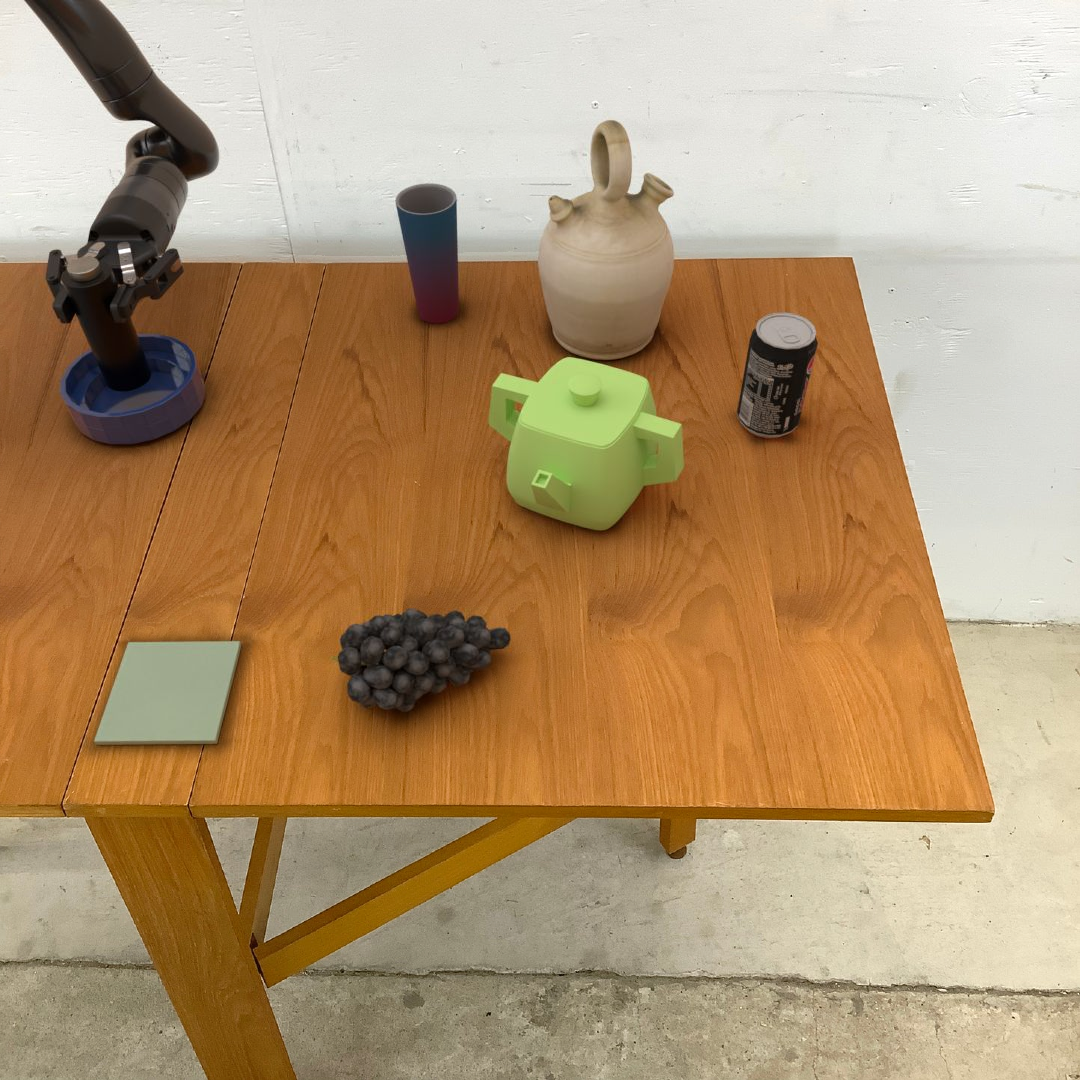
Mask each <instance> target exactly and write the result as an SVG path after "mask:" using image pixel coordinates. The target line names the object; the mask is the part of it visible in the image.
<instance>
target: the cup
mask: <svg viewBox="0 0 1080 1080" xmlns="http://www.w3.org/2000/svg"><path fill="white" fill-rule="evenodd" d="M457 201H458V200H457V194H456V192H455V191H454V190H453V188H451V187H449V186H447V185H444V184H439V183H433V182H432V183H431V182H427V183H418V184H414V185H410V186H409V187H406V188H404V189H402V190H401V191H400V192H399V193H398V194H397V195H396V197H395V206H396V212H397V217H398V222H399V226H400V232H401V236H402V241H403V245H404V251H405V256H406V261H407V265H408V270H409V275H410V280H411V285H412V290H413V295H414V300H415V304H416V310H417V314H418V317H419V318H420V319H421V320H422V321H424V322H426V323H429V324H435V325H436V324H445V323H448V322H451V321H453V320H454V319H455V318H456V317H458V315H459V314H460V313H459V312H460V296H459V295H460V293H459V247H458V245H459V244H458V242H459V241H458V204H457V203H458V202H457Z"/></svg>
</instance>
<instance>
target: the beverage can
mask: <svg viewBox="0 0 1080 1080" xmlns="http://www.w3.org/2000/svg"><path fill="white" fill-rule="evenodd" d="M818 345H819V342H818V340H817V331H816V327H815V325H814V324H813V323H812V322H811V320H809V319H808V318H806V317H803V316H802V315H799V314H797V313H791V312H785V311H784V312H782V311H781V312H772V313H769V314H766V315H764V316H763V317H761V318H760V319H759V320H758V321H757V323H756V326H755V328H753V330H752V332H751V334H750V337H749V341H748V348H747V352H746V353H747V354H746V359H745V365H744V370H743V376H742V381H741V382H742V383H741V388H740V394H739V399H738V404H737V412H736V415H737V418H738V422H739V423H740V424H741V425H742V426H743V427H744V428H745V429H746V430H747V431H748V432H749V433H750V434H752V435H755V436H756V437H760V438H765V439H778V438H780V437H783V436H786V435H788V434H792V432H793V431H795V430H796V429H797V428H798V427H799V423H800V420H801V415H802V411H803V408H804V403H805V399H806V395H807V389H808V386H809V383H810V378H811V373H812V369H813V365H814V361H815V356H816V353H817V349H818Z"/></svg>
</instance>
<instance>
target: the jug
mask: <svg viewBox="0 0 1080 1080" xmlns="http://www.w3.org/2000/svg"><path fill="white" fill-rule="evenodd" d="M632 156H633V154H632V148H631V142H630V139H629V135H628V133H627V130H626V128H625V127H624V126H623V124H622V123H621V122H619V121H617V120H615V119H607V120H604V121H602V122H600V123H599V124H597V126H596V127H595V129H594V131H593V133H592V136H591V142H590V171H591V177H592V181H593V188H592V189H591V191H588V192H585V193H582V194H580V195H578V196H576V197H574V198H572V199H569V198H563V197H560V196H559V195H556V194H554V195H551V196H550V197H549V198H548V201H547V202H548V203H547V204H548V207H549V208H548V209H549V217H550V218H549V220H548V222H547V223H546V225H545V228H544V230H543V233H542V235H541V238H540V242H539V246H538V254H537V268H538V275H539V279H540V285H541V289H542V295H543V299H544V303H545V308H546V311H547V316H548V319H549V322H550V325H551V327H552V329H551V330H552V334H553V336H554V338H555V340H556V341H557V343H558V344H559V345H560V346H561V347H562V348H563V349H564V350H566V351H567V352H569V353H571V354H573V355H576V356H578V357H582V358H586V359H589V360H595V361H612V360H619V359H622V358H627V357H629V356H633V355H635V354H637V353H638V352H640V351H642V350H643V349H644V348H645V347H647V346H648V344H649V343H650V342H651V341H652V339H653V337H654V335H655V331H656V329H657V327H658V324H659V321H660V317H661V315H662V311H663V310H662V309H663V306H664V302H665V300H666V298H667V295H668V292H669V289H670V286H671V282H672V277H673V273H674V268H675V249H674V241H673V238H672V234H671V231H670V228H669V227H668V224H667V222H666V220H665V219H664V217H663V216H662V214H661V212H660V211H659V207H660V205H662V204H663V203H664V202H666V201H667V199H670V198H672V197H674V195H675V191H674V190H673V188H672V187H671V186H670V185H669V184H667V183H666V182H665V181H664V180H663V179H661V178H660V177H658V176H656V175H654V174H652V173H649V172H646V173H644V175H643V182H642V184H641V187H640V190H639V192H637V193H629V190H630V188H631V182H632V175H633V174H632V173H633V157H632Z"/></svg>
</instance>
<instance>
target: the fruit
mask: <svg viewBox="0 0 1080 1080" xmlns="http://www.w3.org/2000/svg"><path fill="white" fill-rule="evenodd" d="M511 641H512V638H511V633H510V632H509V631H508V629H506V627H502V626H501V627H499V626H498V627H495V628H490V629H489V628H488V627H487V621H486V620H485V619H484V618H483V616H481V615H475V614H473V615H471V616H469V617H468V618H467V619H465V616H464V614H463V613H462V612H461V611H459V610H452V611H450V612H448V613H447V614H445V615H444V616H443V615H442V614H439V613H437V614H436V613H435V614H430V615H429V616H428V615H427V614H426V613H425V612H423V611H421V610H419V609H417V608H416V609H415V608H407V609H405V610H404V611H403V612H402V613H401V614H400V613H396V614H393V615H392V614H389V613H388V614H387V613H386V614H383V615H381V614H379V615H373V616H372V618H370V619H369V620H367V621H364V622H363V623H362V624H361V623H354V624H350V625H349V626H348V627H347V628H346V630H345V631H344V632H343V634H342V635H341V636H340V639H339V644H340V648H341V651H339V653H338V655H337V656H335V655H330V660H333V661H335V662H337V663H338V667H339V670H340V671H341V673H343V674H345V675H347V676H351V677H350V678H349V679H348V682H347V683H346V692H347V695H348V697H349V698H350V700H351V701H352V702H355V703H359V706H360V707H362V708H364V709H371V708H373V707H376V706H377V705H378V706H379V708H380V709H382V710H384V711H385V710H386V711H388V710H391V709H392V710H393V709H397V710H398V711H400V712H401V713H408V712H409V711H411V710H412V709H413V708H414V707H415V705H416V703H417V701H418V700H419V699H420V698H422V696H424V695H427V694H428V693H429V692H430V693H434V694H435V693H436V694H437V693H441V692H443V691H444V690H445V689H446V688H447V685H448V681H449V682H450V684H452V685H453V686H457V687H459V686H463V685H466V684H467V683H468V682H469V681H470V678H471V673H473V672H474V671H475V670H477V671H478V670H479V671H481V670H484V669H486V668H488V667H489V666H490V665H491V659H492V658H491V652H492V651H497V650H504V649H505V648H507V647H508V646H510V644H511Z"/></svg>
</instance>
